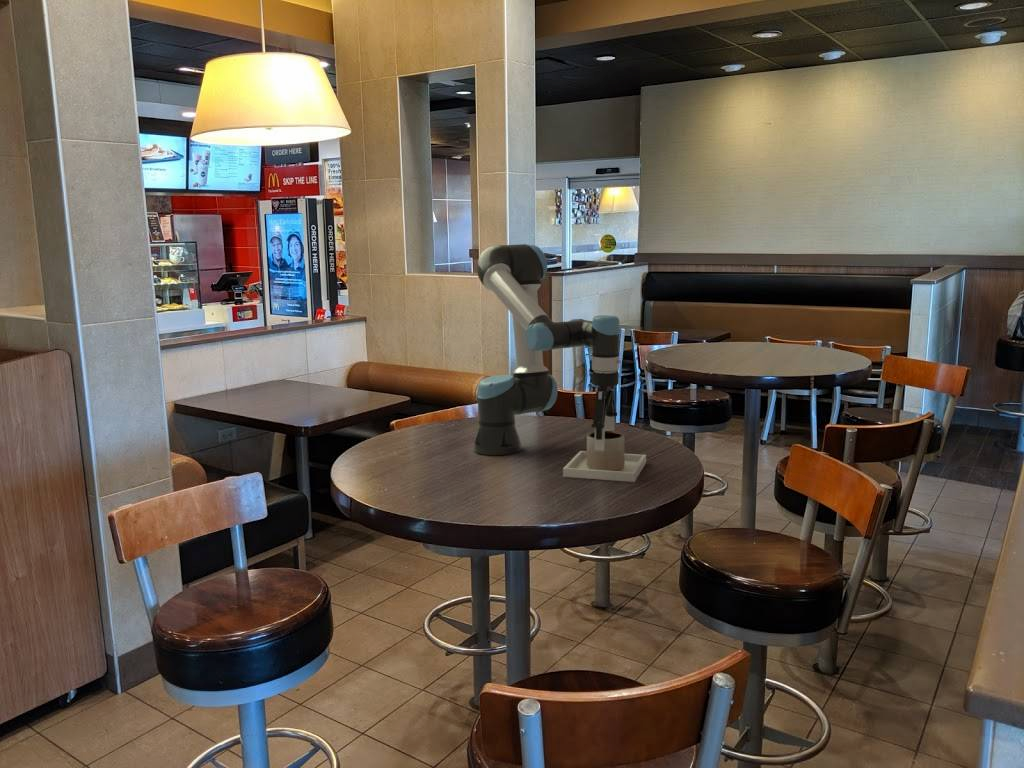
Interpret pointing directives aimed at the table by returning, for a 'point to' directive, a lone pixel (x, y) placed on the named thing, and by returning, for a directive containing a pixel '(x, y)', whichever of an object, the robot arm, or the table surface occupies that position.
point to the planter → (606, 452)
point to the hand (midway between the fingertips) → (604, 444)
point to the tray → (627, 473)
